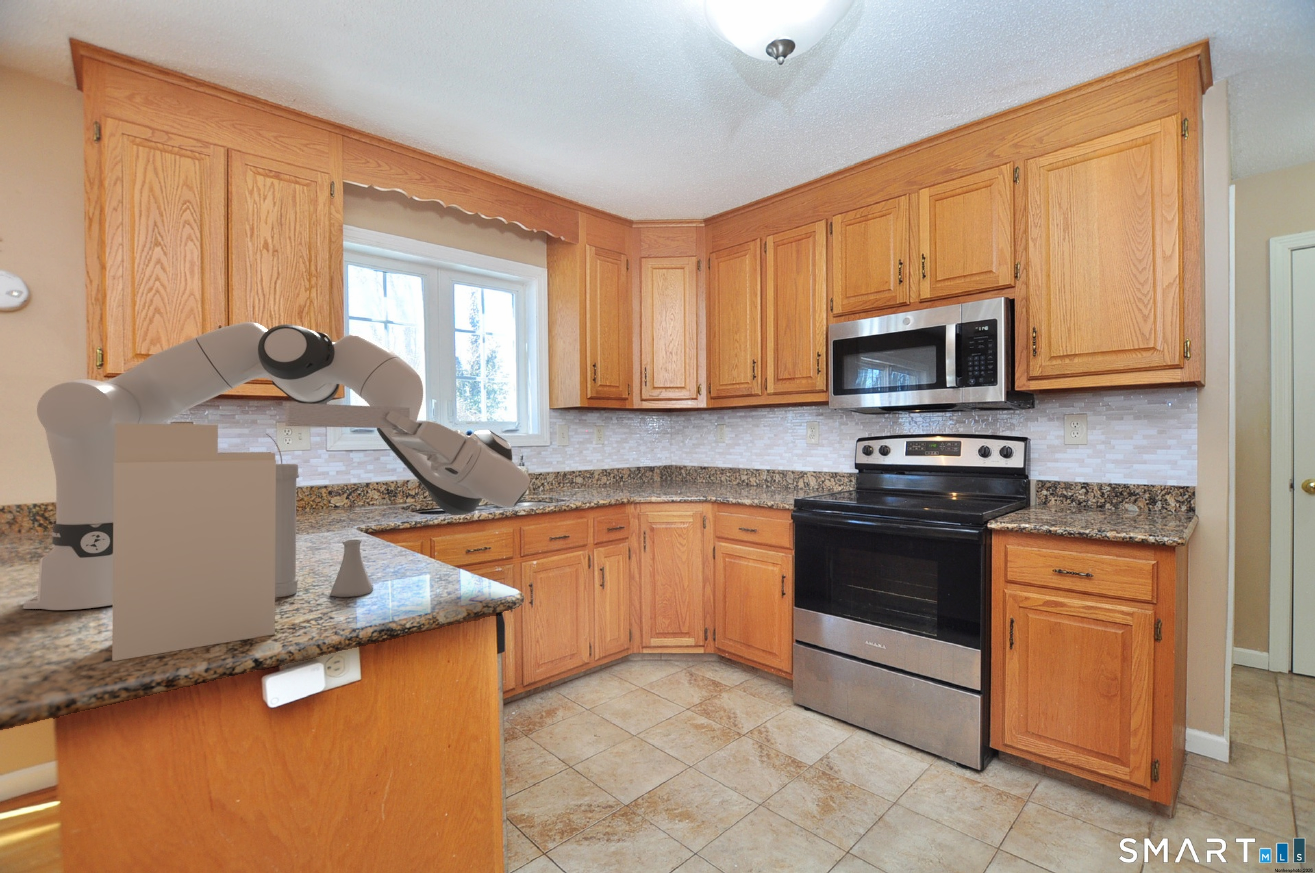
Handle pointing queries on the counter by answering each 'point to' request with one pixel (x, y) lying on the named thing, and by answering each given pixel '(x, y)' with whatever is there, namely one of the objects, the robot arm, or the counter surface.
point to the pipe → (285, 529)
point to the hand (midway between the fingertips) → (383, 414)
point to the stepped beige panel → (190, 540)
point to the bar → (341, 415)
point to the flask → (351, 573)
